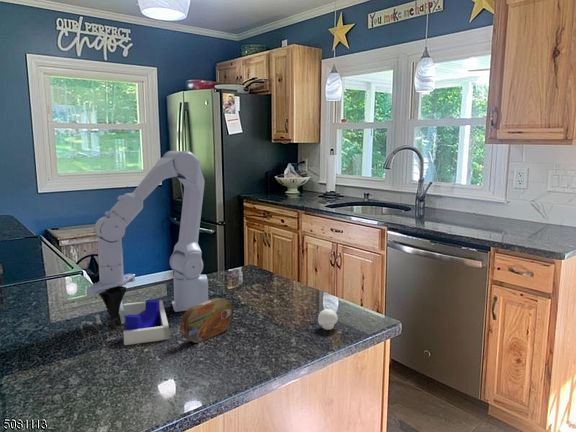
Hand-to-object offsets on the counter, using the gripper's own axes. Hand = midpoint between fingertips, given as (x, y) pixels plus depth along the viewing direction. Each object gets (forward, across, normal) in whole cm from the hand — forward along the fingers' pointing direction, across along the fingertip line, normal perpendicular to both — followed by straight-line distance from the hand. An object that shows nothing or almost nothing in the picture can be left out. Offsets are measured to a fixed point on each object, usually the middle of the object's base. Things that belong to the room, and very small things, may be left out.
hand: (113, 315), depth 112 cm
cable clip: (+2, -1, -10) cm, 10 cm away
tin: (+2, +3, -27) cm, 27 cm away
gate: (+2, +3, 0) cm, 4 cm away
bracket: (+2, +2, -9) cm, 9 cm away
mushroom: (+2, +18, -52) cm, 55 cm away
